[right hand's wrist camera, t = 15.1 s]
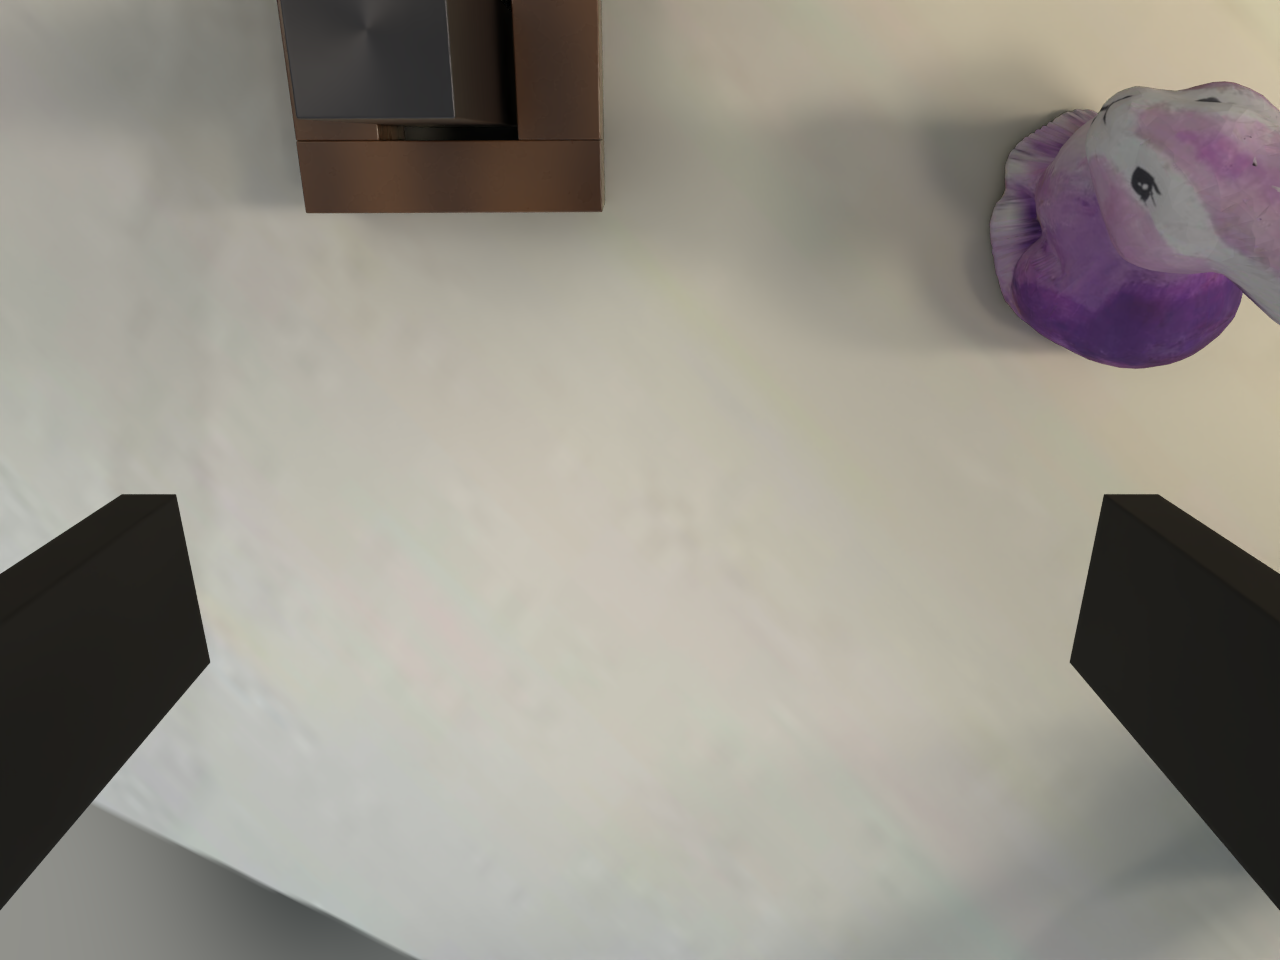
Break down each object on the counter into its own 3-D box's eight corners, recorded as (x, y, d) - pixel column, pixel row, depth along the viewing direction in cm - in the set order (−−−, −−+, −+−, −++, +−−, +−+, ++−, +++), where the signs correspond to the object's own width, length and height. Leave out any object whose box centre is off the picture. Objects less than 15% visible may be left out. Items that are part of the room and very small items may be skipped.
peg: (513, 14, 33) (441, -67, 20) (519, 126, 35) (455, 118, 22) (409, 14, 33) (269, -67, 20) (420, 127, 35) (295, 119, 22)
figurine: (997, 77, 34) (1254, 32, 20) (1232, 139, 35) (1632, 138, 21) (916, 310, 37) (1088, 411, 23) (1133, 361, 38) (1422, 487, 24)
